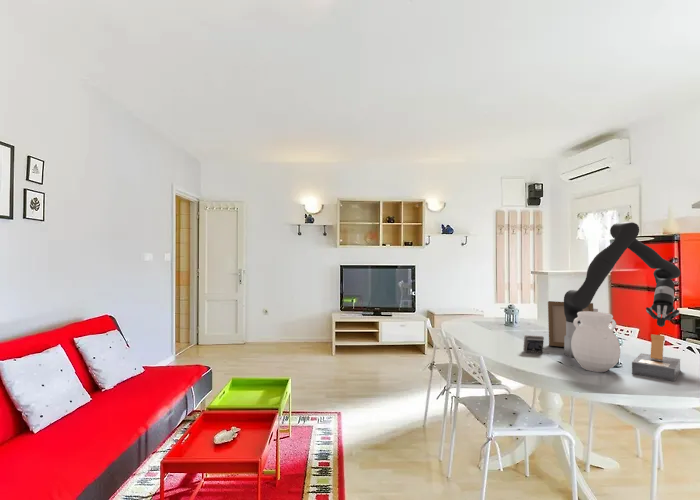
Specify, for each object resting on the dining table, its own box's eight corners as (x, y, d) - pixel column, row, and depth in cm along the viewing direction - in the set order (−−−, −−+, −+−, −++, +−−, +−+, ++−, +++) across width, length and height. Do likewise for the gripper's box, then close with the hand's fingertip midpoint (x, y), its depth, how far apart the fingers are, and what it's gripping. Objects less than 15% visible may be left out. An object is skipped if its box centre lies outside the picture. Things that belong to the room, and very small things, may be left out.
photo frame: (595, 351, 203) (595, 304, 203) (549, 347, 211) (549, 302, 212) (590, 345, 216) (589, 301, 217) (547, 342, 225) (547, 299, 226)
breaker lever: (649, 357, 168) (650, 334, 171) (650, 358, 169) (651, 335, 173) (662, 359, 164) (664, 335, 168) (663, 361, 166) (664, 337, 169)
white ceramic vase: (582, 374, 162) (582, 315, 162) (564, 362, 180) (564, 309, 181) (630, 376, 159) (629, 317, 160) (606, 364, 178) (606, 310, 178)
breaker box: (632, 373, 164) (632, 361, 164) (640, 363, 179) (640, 352, 179) (674, 381, 154) (674, 368, 154) (680, 370, 169) (680, 358, 169)
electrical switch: (542, 352, 200) (542, 335, 199) (545, 355, 195) (545, 338, 194) (523, 351, 202) (523, 334, 201) (525, 354, 197) (525, 337, 196)
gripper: (645, 291, 189) (641, 318, 180) (681, 293, 179) (678, 322, 171) (647, 301, 192) (643, 328, 184) (682, 303, 183) (679, 332, 174)
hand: (660, 325), depth 177 cm, fingers closed
